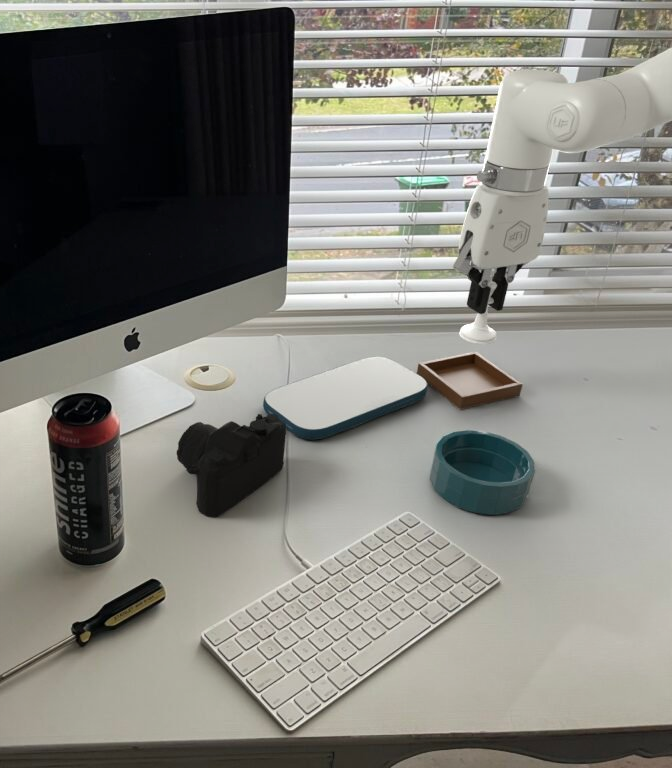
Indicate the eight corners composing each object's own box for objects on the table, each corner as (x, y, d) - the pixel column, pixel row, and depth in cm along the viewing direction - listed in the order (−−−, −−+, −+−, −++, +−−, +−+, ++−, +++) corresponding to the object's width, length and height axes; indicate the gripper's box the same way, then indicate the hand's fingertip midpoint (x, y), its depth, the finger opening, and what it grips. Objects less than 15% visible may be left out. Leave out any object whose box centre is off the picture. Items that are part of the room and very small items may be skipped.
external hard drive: (378, 363, 122) (379, 351, 121) (436, 397, 113) (438, 385, 112) (253, 407, 111) (254, 395, 110) (306, 448, 103) (308, 436, 102)
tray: (473, 362, 122) (475, 351, 121) (519, 395, 113) (522, 384, 112) (416, 374, 119) (418, 362, 118) (459, 409, 110) (462, 397, 109)
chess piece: (456, 340, 111) (470, 273, 106) (461, 325, 115) (475, 260, 109) (494, 347, 109) (510, 280, 104) (497, 332, 113) (513, 266, 108)
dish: (484, 451, 102) (491, 422, 100) (547, 504, 93) (556, 474, 91) (410, 470, 99) (416, 440, 97) (468, 526, 90) (476, 495, 88)
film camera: (234, 437, 105) (236, 379, 101) (293, 468, 99) (298, 408, 95) (152, 489, 96) (151, 427, 92) (212, 526, 90) (214, 463, 86)
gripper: (480, 191, 95) (452, 329, 104) (586, 177, 99) (550, 310, 109) (441, 174, 101) (418, 306, 110) (543, 161, 105) (512, 289, 115)
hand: (484, 307), depth 109 cm, fingers closed on chess piece
